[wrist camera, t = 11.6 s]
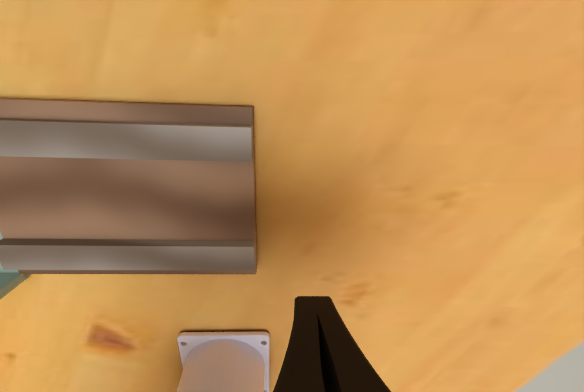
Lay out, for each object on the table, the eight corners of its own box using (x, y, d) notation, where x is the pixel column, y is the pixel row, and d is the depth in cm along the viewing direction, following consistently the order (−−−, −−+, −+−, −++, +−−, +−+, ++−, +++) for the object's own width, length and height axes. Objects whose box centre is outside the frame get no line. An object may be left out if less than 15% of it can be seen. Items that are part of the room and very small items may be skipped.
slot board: (257, 265, 21) (255, 281, 19) (31, 264, 20) (9, 281, 19) (253, 105, 16) (250, 109, 15) (-43, 96, 15) (-81, 98, 14)
